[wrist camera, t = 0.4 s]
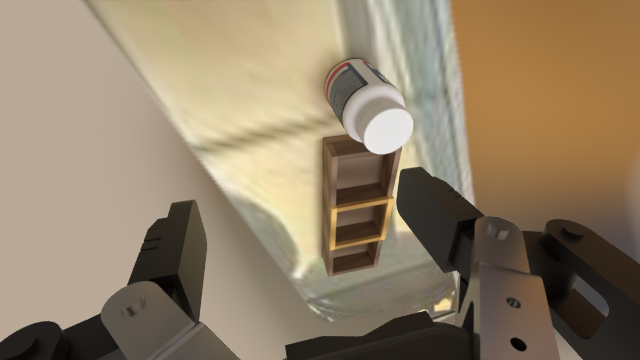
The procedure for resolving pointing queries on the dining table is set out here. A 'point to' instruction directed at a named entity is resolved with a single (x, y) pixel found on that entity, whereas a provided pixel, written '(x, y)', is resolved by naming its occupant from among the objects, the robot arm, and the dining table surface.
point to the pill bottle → (368, 106)
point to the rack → (355, 203)
